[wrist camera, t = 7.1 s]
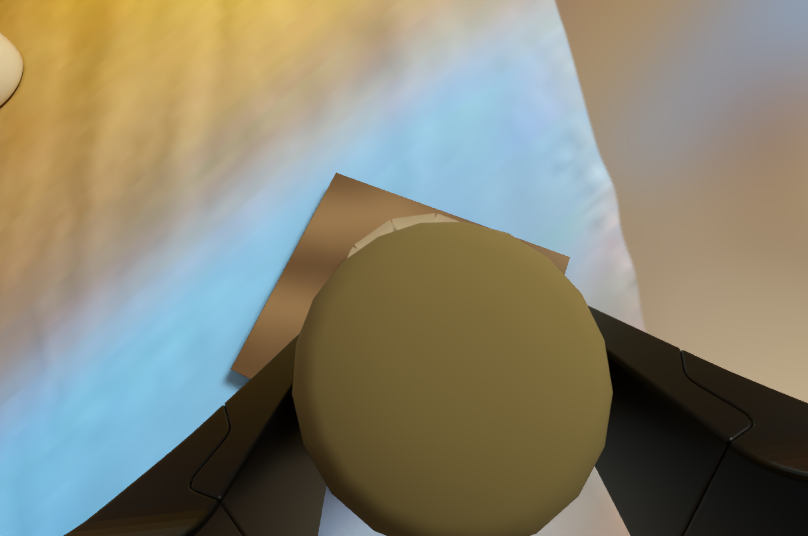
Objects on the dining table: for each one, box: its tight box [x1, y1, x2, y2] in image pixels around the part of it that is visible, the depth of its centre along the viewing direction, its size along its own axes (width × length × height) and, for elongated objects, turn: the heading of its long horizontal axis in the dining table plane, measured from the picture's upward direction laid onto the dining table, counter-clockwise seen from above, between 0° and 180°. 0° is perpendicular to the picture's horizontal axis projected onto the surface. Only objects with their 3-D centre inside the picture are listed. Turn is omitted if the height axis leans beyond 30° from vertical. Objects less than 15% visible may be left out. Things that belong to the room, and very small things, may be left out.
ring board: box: [231, 173, 570, 379], centre depth 21 cm, size 14×16×2 cm
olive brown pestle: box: [292, 222, 613, 536], centre depth 10 cm, size 6×6×11 cm
